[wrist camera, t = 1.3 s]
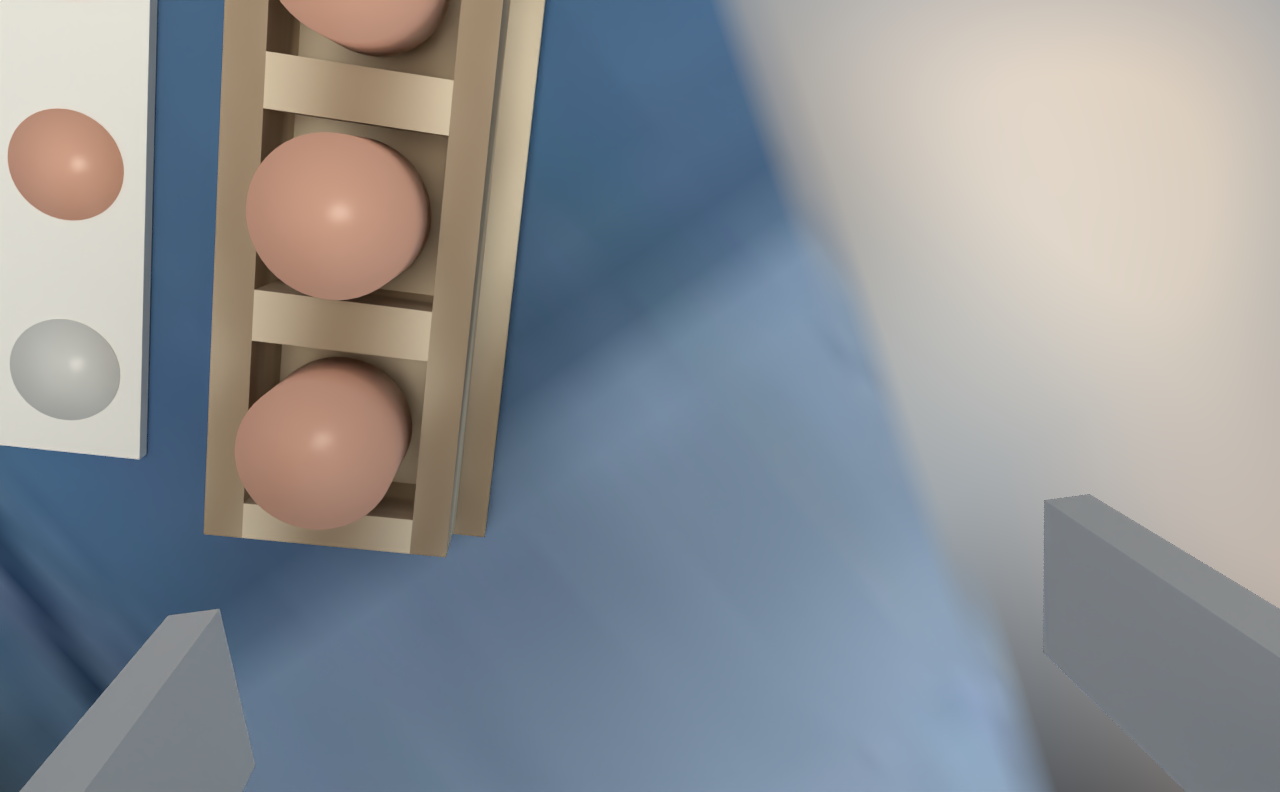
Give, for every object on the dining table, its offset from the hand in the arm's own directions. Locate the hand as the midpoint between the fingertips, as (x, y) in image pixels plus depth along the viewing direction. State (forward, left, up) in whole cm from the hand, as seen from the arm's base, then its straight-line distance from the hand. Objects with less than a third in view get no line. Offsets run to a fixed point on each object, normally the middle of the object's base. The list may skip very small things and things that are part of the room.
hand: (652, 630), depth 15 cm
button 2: (-8, -2, -17) cm, 19 cm away
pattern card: (-18, +5, -21) cm, 28 cm away
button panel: (-8, +5, -21) cm, 23 cm away
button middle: (-8, +5, -17) cm, 20 cm away
